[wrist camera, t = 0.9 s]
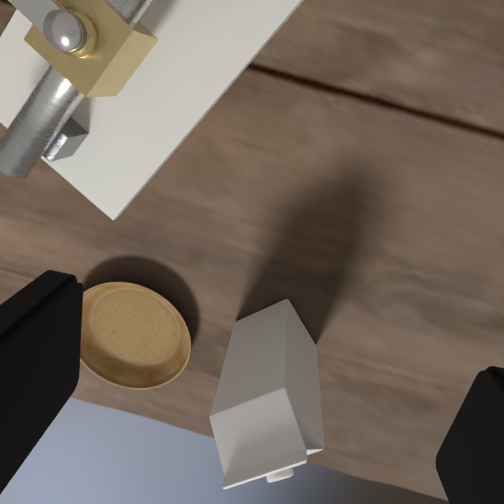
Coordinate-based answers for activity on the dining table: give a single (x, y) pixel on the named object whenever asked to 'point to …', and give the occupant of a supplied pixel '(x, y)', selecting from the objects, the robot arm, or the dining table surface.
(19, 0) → the valve lever
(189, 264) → the dining table surface
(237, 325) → the milk carton
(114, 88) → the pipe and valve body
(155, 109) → the valve board
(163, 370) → the plant saucer
